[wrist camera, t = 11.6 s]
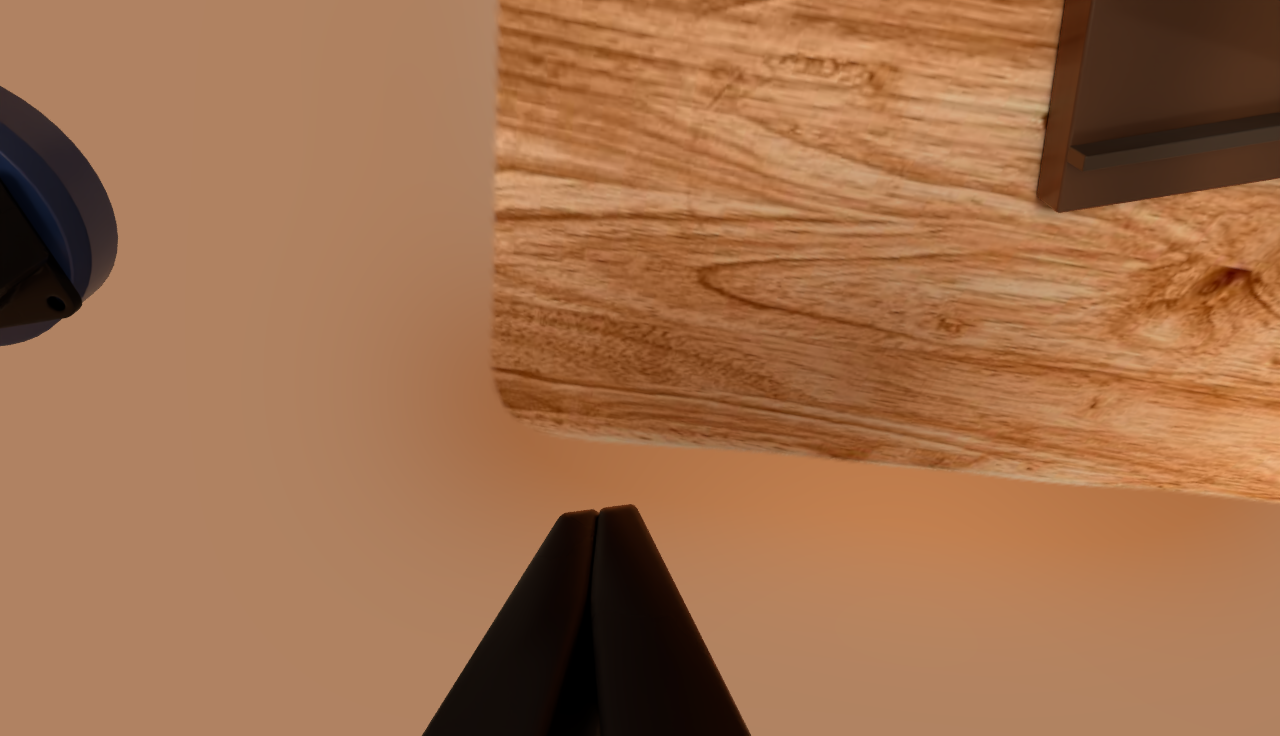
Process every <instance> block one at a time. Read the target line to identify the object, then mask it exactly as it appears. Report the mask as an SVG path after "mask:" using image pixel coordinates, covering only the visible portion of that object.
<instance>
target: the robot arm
mask: <svg viewBox="0 0 1280 736" xmlns="http://www.w3.org/2000/svg"><path fill="white" fill-rule="evenodd" d="M56 297H58V298H60V299H61V300H62V301H63V302H64V304H63V303H61V302H59V301H58V300H57V299H56ZM81 306H82V299H81V297H80V295H79V293H78V292H77V290H76V289H75V287H74V286H73V284H72V283H71V281H70V280H69V278H68V277H67V275H66V274H65V272H64V271H63V269H62V268H61V267H60V265H59V264H58V262H57V261H56V259H55V258H54V256H53V255H52V253H51V252H50V250H49V249H48V247H47V246H46V244H45V243H44V241H43V240H42V239H41V237H40V236H39V234H38V233H37V231H36V230H35V228H34V227H33V225H32V224H31V222H30V221H29V219H28V218H27V216H26V215H25V213H24V212H23V211H22V209H21V208H20V206H19V205H18V203H17V202H16V200H15V199H14V197H13V196H12V194H11V193H10V191H9V190H8V188H7V187H6V185H5V184H4V183H3V181H2V180H1V178H0V329H1V328H7V327H13V326H19V325H26V324H32V323H38V322H44V321H50V320H56V319H62V318H67V317H69V316H71V315H73V314H74V313H75V312H76V311H78V310H79V309H80V307H81ZM422 736H751V734H750V733H749V730H748V728H747V727H746V725H745V723H744V720H743V719H742V716H741V715H740V712H739V710H738V708H737V707H736V705H735V702H734V701H733V698H732V696H731V694H730V693H729V690H728V688H727V686H726V684H725V682H724V680H723V679H722V676H721V675H720V673H719V671H718V669H717V667H716V665H715V663H714V661H713V659H712V657H711V655H710V653H709V651H708V649H707V647H706V645H705V643H704V641H703V639H702V637H701V635H700V633H699V631H698V629H697V627H696V625H695V623H694V621H693V619H692V617H691V615H690V613H689V611H688V609H687V607H686V605H685V603H684V601H683V599H682V597H681V595H680V593H679V591H678V589H677V587H676V585H675V583H674V581H673V579H672V577H671V575H670V573H669V571H668V569H667V567H666V565H665V563H664V561H663V559H662V557H661V555H660V553H659V551H658V549H657V547H656V545H655V543H654V541H653V539H652V537H651V535H650V533H649V531H648V529H647V527H646V525H645V523H644V521H643V519H642V517H641V515H640V513H639V511H638V509H637V508H636V507H635V506H634V505H631V504H629V505H622V506H613V507H606V508H603V509H601V510H600V512H599V513H598V512H597V511H595V510H592V509H591V510H583V511H576V512H568V513H564V514H563V515H561V516H560V517H559V519H558V520H557V521H556V523H555V525H554V526H553V528H552V530H551V531H550V533H549V534H548V536H547V537H546V539H545V541H544V542H543V544H542V545H541V547H540V548H539V550H538V552H537V553H536V555H535V557H534V558H533V560H532V561H531V563H530V564H529V566H528V568H527V569H526V571H525V572H524V574H523V576H522V577H521V579H520V580H519V582H518V584H517V585H516V587H515V588H514V590H513V591H512V593H511V595H510V596H509V598H508V599H507V601H506V603H505V604H504V606H503V607H502V609H501V611H500V612H499V614H498V616H497V617H496V619H495V620H494V622H493V623H492V625H491V626H490V628H489V630H488V631H487V633H486V635H485V636H484V638H483V639H482V641H481V642H480V644H479V646H478V647H477V649H476V650H475V652H474V654H473V655H472V657H471V659H470V660H469V662H468V663H467V665H466V666H465V668H464V670H463V671H462V673H461V674H460V676H459V677H458V679H457V681H456V682H455V684H454V685H453V687H452V689H451V690H450V692H449V693H448V695H447V696H446V698H445V700H444V701H443V703H442V704H441V706H440V708H439V709H438V711H437V713H436V714H435V716H434V717H433V719H432V720H431V722H430V724H429V725H428V727H427V729H426V730H425V732H424V733H423V735H422Z"/></svg>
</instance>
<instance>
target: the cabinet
mask: <svg viewBox="0 0 1280 736" xmlns="http://www.w3.org/2000/svg"><path fill="white" fill-rule="evenodd" d="M1278 178H1280V0H1066V2H1065V8H1064V15H1063V22H1062V29H1061V36H1060V42H1059V49H1058V56H1057V63H1056V69H1055V76H1054V83H1053V90H1052V97H1051V103H1050V110H1049V117H1048V124H1047V131H1046V137H1045V144H1044V151H1043V158H1042V165H1041V171H1040V178H1039V185H1038V192H1037V196H1038V198H1039V199H1041V200H1042V201H1043V202H1044V203H1046V204H1047V205H1048V206H1049V207H1051V208H1052V209H1053V210H1054V211H1056V212H1058V213H1062V212H1068V211H1074V210H1081V209H1087V208H1093V207H1100V206H1106V205H1113V204H1119V203H1125V202H1132V201H1138V200H1144V199H1151V198H1157V197H1163V196H1170V195H1176V194H1183V193H1189V192H1195V191H1202V190H1208V189H1214V188H1221V187H1227V186H1233V185H1240V184H1246V183H1253V182H1259V181H1265V180H1272V179H1278Z"/></svg>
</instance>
